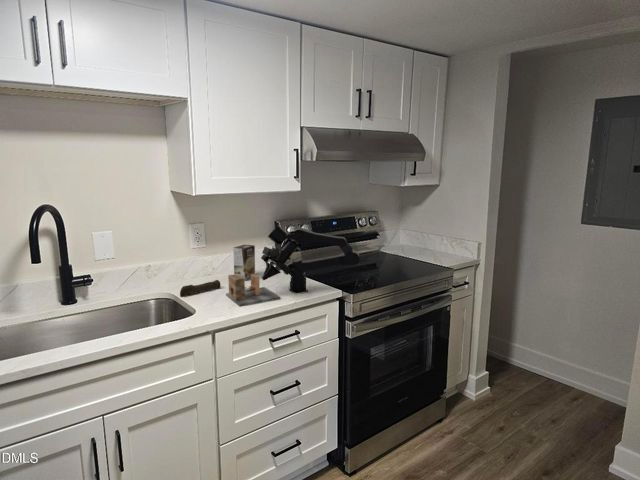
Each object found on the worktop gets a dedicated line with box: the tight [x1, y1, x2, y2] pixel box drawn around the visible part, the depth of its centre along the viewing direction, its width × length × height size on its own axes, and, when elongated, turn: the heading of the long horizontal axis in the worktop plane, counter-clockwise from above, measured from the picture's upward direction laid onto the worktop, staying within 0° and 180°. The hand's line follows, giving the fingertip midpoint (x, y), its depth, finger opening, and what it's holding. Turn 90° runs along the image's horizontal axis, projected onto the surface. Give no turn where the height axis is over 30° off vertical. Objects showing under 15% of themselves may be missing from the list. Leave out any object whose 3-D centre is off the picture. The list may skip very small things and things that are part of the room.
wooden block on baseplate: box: [225, 273, 281, 308], centre depth 180 cm, size 18×16×10 cm
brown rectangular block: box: [245, 273, 261, 296], centre depth 179 cm, size 9×5×8 cm, turn 122°
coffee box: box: [233, 244, 256, 282], centre depth 208 cm, size 9×6×16 cm
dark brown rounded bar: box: [179, 279, 221, 298], centre depth 187 cm, size 19×4×5 cm, turn 134°
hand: (262, 279), depth 182 cm, fingers closed
